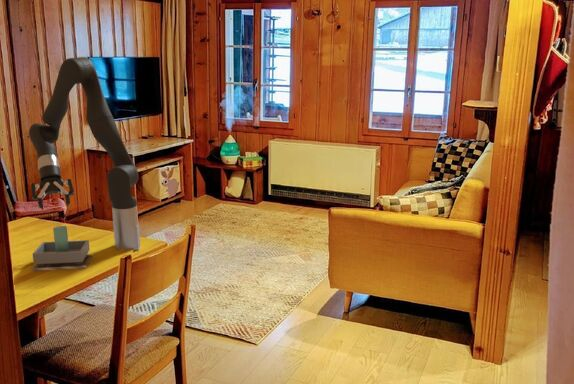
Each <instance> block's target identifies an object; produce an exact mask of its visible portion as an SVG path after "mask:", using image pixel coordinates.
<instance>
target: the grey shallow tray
mask: <svg viewBox="0 0 574 384" xmlns="http://www.w3.org/2000/svg"><path fill="white" fill-rule="evenodd" d="M68 244H69V251H66V252H56V250H55V241H42V242H41V243H40V245H38V247H36V249H35V250H34V251H33V253H32V261H33V265H37V264H38V268H43V267H45V266H46V264H48V263H70V262H74V266H81V265H82V262H83V260H84V259H85V257H86V256H87V254H89V251H90V240H89V239H87V240H86V239H85V240H84V239H83V240H82V239H81V240H68Z"/></svg>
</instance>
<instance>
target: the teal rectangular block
mask: <svg viewBox="0 0 574 384" xmlns="http://www.w3.org/2000/svg"><path fill="white" fill-rule="evenodd" d="M52 228H53V229H52V230H53V231H52V233H53V239H54V240H53V242H55V250H56V252H66V251H69V244H68V241H69V236H68V227H67V226H66V225H58V226H54V227H52Z"/></svg>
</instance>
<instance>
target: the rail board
mask: <svg viewBox="0 0 574 384" xmlns="http://www.w3.org/2000/svg"><path fill="white" fill-rule="evenodd" d="M93 256H94V254H93V253H87V256H86V257H85V259H84V260H83V262H82V265H81V266H74V262H70V263H48V264H46V266H45V267H43V268H38V264H35V266H34V267H32V268H31V272H38V271H39V272H41V271H60V270H61V271H63V270H81V269H84V270H85V269H87V268H88V266H89V264H90V263H91V261H92V259H93Z"/></svg>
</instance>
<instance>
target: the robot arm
mask: <svg viewBox="0 0 574 384" xmlns="http://www.w3.org/2000/svg"><path fill="white" fill-rule="evenodd" d="M77 84H80V85H82V89H83V92H84V94H85V96H86V97H85V98H86V113H85V114H86V116H85V117H86V122H87V124H88V126H89V129H90V132H91V134H92V136H93V137H94V140H96V141H97V143H98V144H99V145H100V146H101V147H102V148H103V150H105V151H106V153H107V154H108V155H109V157H110V159H111V161H112V164H113V166H114V167H112V168H111V169H109V171H108V173H107V174H106V175H107V176H106V178H107V179H106V181H107V191H108V192H107V193H108V198H109V201H110V203H111V209H112V210H111V211H112V222H113V223H112V226H113V237H114V248H116V249H117V250H122V251H123V250H125V251H127V250H133V252H134V251H139V250H140V247H141V235H140V233H141V232H140V222H139V217H138V214H139V213H138V201H137V198H136V197H134V196H133V195H132V187H133V186H135V185H136V184H137V183H138V181H139V171H138V169H137V167H136V165H135V163H134V161H133V159H132V158H131V155H130V154H129V152H128V150H127V148H126V146H125V144H124V140H123V138H122V137H121V134H120V131H119V129H118V127H117V123H116V120H115V118H114V116H113V114H112V112H111V110H110V107H109V105H108V102H107V100H106V98H105V94H104V92H103V89H102V87H101V83H100V80H99V75H98V73H97V69H96V67H95V65H94V63H93V62H92V60H90V58H87V57H84V56H79V57H69V58H66V59H65V60H63V62H62V63H61V64H60V67H59V71H58V74H57V78H56V80H55V84H54V89H53V91H52V93H51V94H52V95H51V97H50V100H49V101H48V103H47V105H46V108H45V109H44V110H43V111H44V112H43V113H42V115H41V119H42V122H44V123H45V124H43V123H42V124H41V123H36V122H35V123H32V124H31V125H30V126H29V129H28V135H29V139H30V141H31V143H32V145H33V147H34V150H35V151H36V157H37V170H38V176H39V183H37V184H36V183H34V182H32V183H31V185H30V187H31V198H32V200H33V201H38V203H37V204H38V208H39V209H41V210H44V203H43V199H44V198H45V197H46V195H47V194H48V195H52V194H61V195H63V196H64V199H65V205H66V207H69V205H71V200H70V199H71V198H70V197H71V196H75V192H74V191H75V189H74V186H73V181H72V179H70V178H67V180H63V178H62V174H61V173H62V172H61V164H60V161H59V158H58V150H57V147H56V146H55V145H54V144H55V143H56V142H57V141H58V140H59V138H60V136H59V135H60V129H61V125H62V121H63V120H64V117H65V116H66V113H67V112H68V110H69V94H70V92H71V91H72V89H73V87H75V85H77ZM64 185H65V186H66V187H68V190H69V191H68V190H66V189H65V188H64ZM39 188H40V192H39V194H38V195H37V191H38V189H39Z"/></svg>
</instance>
